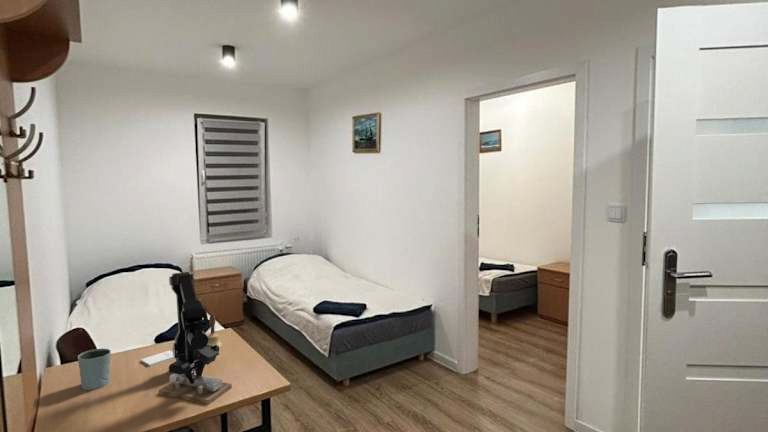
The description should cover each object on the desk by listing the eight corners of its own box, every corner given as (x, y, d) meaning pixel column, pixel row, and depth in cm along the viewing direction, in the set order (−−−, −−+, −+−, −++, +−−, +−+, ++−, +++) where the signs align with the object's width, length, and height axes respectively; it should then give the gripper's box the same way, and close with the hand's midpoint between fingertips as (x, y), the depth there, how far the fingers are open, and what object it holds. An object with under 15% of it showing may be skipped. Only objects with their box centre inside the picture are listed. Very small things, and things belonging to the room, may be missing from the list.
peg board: (158, 393, 150) (158, 383, 150) (184, 378, 162) (183, 368, 161) (208, 404, 144) (208, 393, 143) (231, 387, 155) (231, 377, 155)
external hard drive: (140, 363, 176) (169, 353, 186) (149, 368, 172) (179, 357, 182) (140, 359, 176) (169, 349, 186) (149, 364, 171) (179, 354, 181)
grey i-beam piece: (169, 382, 153) (169, 376, 153) (179, 377, 158) (179, 370, 157) (213, 391, 147) (213, 384, 147) (222, 385, 152) (222, 378, 151)
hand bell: (226, 343, 196) (225, 310, 194) (215, 351, 188) (214, 316, 186) (210, 342, 197) (208, 309, 196) (199, 349, 189) (198, 315, 188)
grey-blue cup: (73, 388, 154) (71, 356, 153) (99, 375, 163) (98, 346, 162) (92, 393, 150) (90, 361, 149) (118, 380, 160) (116, 350, 159)
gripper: (193, 353, 140) (194, 397, 141) (229, 333, 157) (230, 373, 159) (166, 349, 143) (168, 392, 144) (205, 330, 161) (206, 369, 162)
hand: (195, 381), depth 152 cm, fingers closed on grey i-beam piece, 3 cm apart
